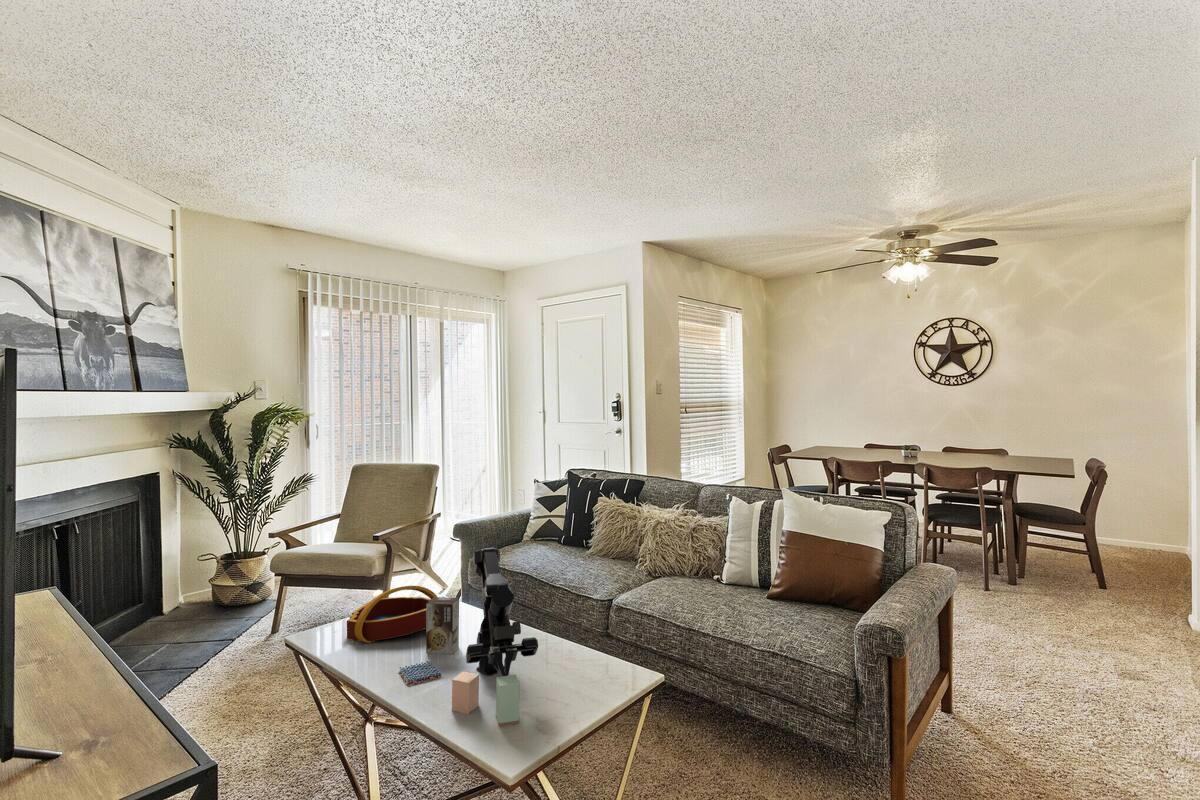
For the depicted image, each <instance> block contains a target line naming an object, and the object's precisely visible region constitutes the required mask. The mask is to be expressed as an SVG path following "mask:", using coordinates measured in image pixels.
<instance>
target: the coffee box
mask: <svg viewBox="0 0 1200 800" xmlns="http://www.w3.org/2000/svg"><path fill="white" fill-rule="evenodd" d="M459 626H460V598H459V597H438V596H437V597H433V598H432V599H431V600H430V601H429V602H428V603H427V604H426V631H425V632H426V633H425V634H426V636H425V638H426V639H425V640H426V641H425V645H426V646H425V653H426V654H440V655H441V654H443V655H444V654H445V655H453V654H454V653H455V652H456V651H457V649H459V647H460V646H459V645H460V644H459V643H460V642H459V641H460V637H459V635H460V631H459V630H460V627H459Z"/></svg>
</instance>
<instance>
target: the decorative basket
mask: <svg viewBox="0 0 1200 800" xmlns="http://www.w3.org/2000/svg"><path fill="white" fill-rule="evenodd" d="M400 591H417V592H419V593H422V594H423V595H425V596H426V597H423V596H419V597H418V596H417V597H415V596H413V597H412V596H397V597H396V596H395V597H387V596H389V595H391V594H394V593H396V592H400ZM433 597H438V596H437V594H436V593H435V592H434V591H433V590H431V589H429V588H428V587H425V586H420V585H405V586H404V585H403V586H399V587H393V588H391V589H388V590H386V591H384V592H382V593H380V594H378V595H376V596H375V597H374V598H373V599H371V600H370V601H369V602H367V603H365V604H363V605H362V606H360V607H359V608H357V609H355V610H354V611H353V612H351V615H350V616H349V618H348V619H346V639H347V638H348V640H350V641H351V640H352V641H359V642H363V643H365V644H368V643H369V644H370V643H374V642H376V641H380V640H381V641H382V640H388V639H393V638H399V637H402V636H405V635H406V636H407V635H410V634H413V633H417V632H420V631H422V630H425V629H426V604H427V603H428V602H429V601H430V600H431V599H432V598H433Z"/></svg>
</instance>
